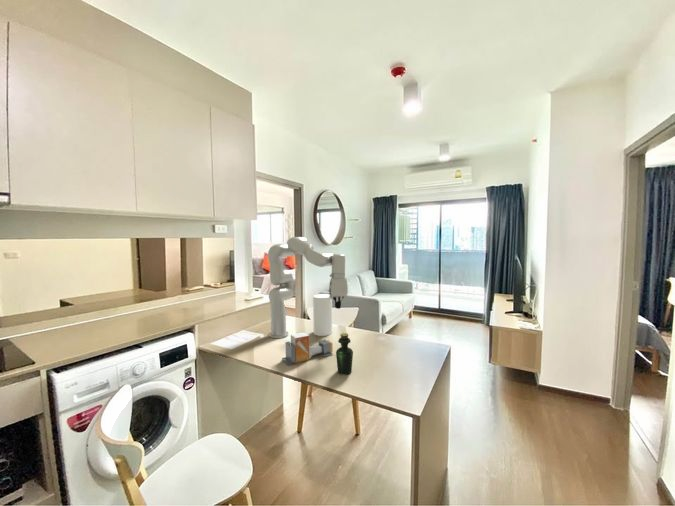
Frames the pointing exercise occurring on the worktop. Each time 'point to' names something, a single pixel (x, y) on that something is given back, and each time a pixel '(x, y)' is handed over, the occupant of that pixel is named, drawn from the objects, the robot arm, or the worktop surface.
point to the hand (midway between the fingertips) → (337, 307)
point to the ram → (318, 349)
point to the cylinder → (322, 314)
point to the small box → (300, 346)
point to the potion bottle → (344, 355)
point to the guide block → (325, 348)
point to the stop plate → (289, 354)
